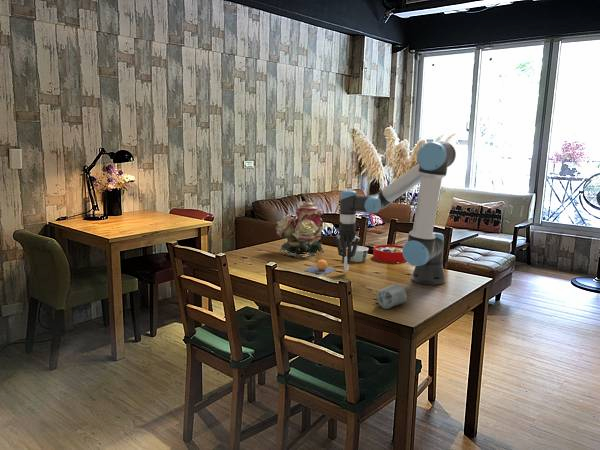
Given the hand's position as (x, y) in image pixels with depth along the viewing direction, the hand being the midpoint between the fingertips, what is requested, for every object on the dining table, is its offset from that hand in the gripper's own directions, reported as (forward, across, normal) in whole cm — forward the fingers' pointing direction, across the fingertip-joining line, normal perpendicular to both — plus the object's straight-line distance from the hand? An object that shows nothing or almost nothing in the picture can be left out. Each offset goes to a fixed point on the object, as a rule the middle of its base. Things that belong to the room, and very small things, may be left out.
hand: (346, 270), depth 248 cm
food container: (+2, +6, -30) cm, 31 cm away
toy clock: (+2, -9, -43) cm, 44 cm away
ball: (-1, +13, 0) cm, 13 cm away
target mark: (+2, +14, 0) cm, 14 cm away
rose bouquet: (+2, +39, -29) cm, 49 cm away
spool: (+2, -34, +35) cm, 49 cm away
